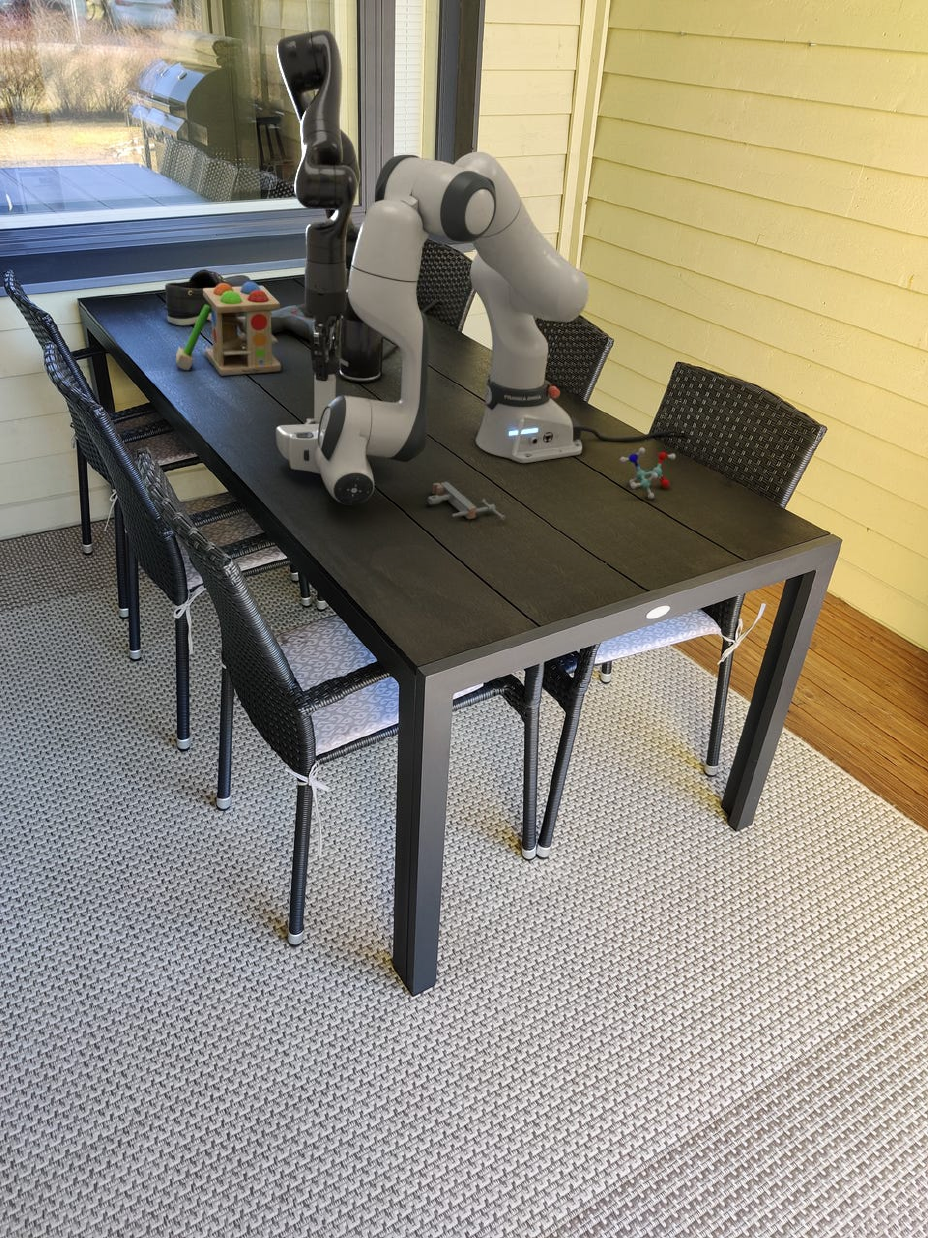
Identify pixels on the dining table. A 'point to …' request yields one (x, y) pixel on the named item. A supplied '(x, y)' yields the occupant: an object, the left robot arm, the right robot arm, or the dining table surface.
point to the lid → (330, 364)
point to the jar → (323, 395)
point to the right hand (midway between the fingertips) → (323, 421)
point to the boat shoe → (194, 295)
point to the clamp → (459, 501)
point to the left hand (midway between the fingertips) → (325, 374)
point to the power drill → (293, 320)
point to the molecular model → (641, 473)
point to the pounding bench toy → (229, 347)
